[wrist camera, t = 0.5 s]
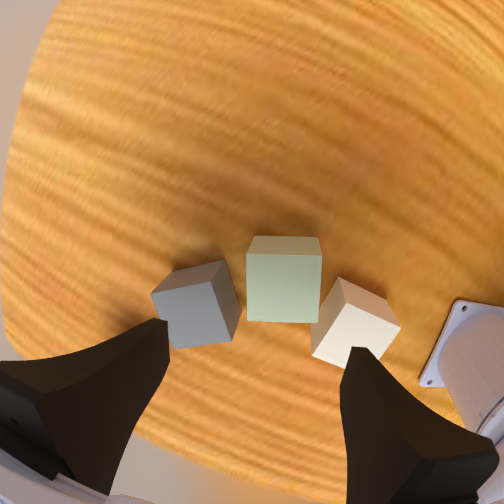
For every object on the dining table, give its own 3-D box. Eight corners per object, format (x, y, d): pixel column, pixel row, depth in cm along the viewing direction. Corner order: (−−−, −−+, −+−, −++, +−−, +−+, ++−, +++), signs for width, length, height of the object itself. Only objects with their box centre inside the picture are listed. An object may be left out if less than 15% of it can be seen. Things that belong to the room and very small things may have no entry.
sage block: (317, 236, 20) (322, 255, 16) (314, 293, 21) (317, 323, 17) (255, 235, 21) (245, 253, 17) (255, 292, 22) (247, 320, 18)
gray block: (225, 258, 21) (210, 281, 18) (242, 310, 22) (231, 341, 19) (172, 270, 22) (149, 294, 18) (191, 320, 23) (173, 349, 19)
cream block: (385, 299, 21) (401, 327, 17) (356, 343, 22) (365, 376, 18) (338, 276, 21) (346, 302, 17) (310, 323, 22) (311, 355, 18)
